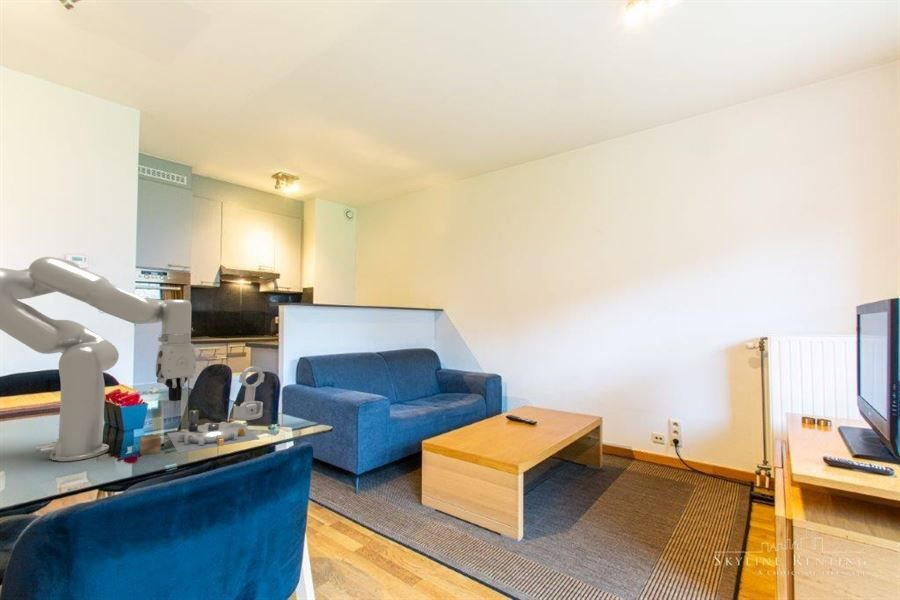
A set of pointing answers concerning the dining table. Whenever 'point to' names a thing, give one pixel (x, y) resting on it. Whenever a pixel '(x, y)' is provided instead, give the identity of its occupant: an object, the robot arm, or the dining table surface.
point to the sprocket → (209, 431)
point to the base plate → (195, 446)
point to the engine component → (249, 398)
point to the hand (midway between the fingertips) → (175, 400)
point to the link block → (150, 444)
